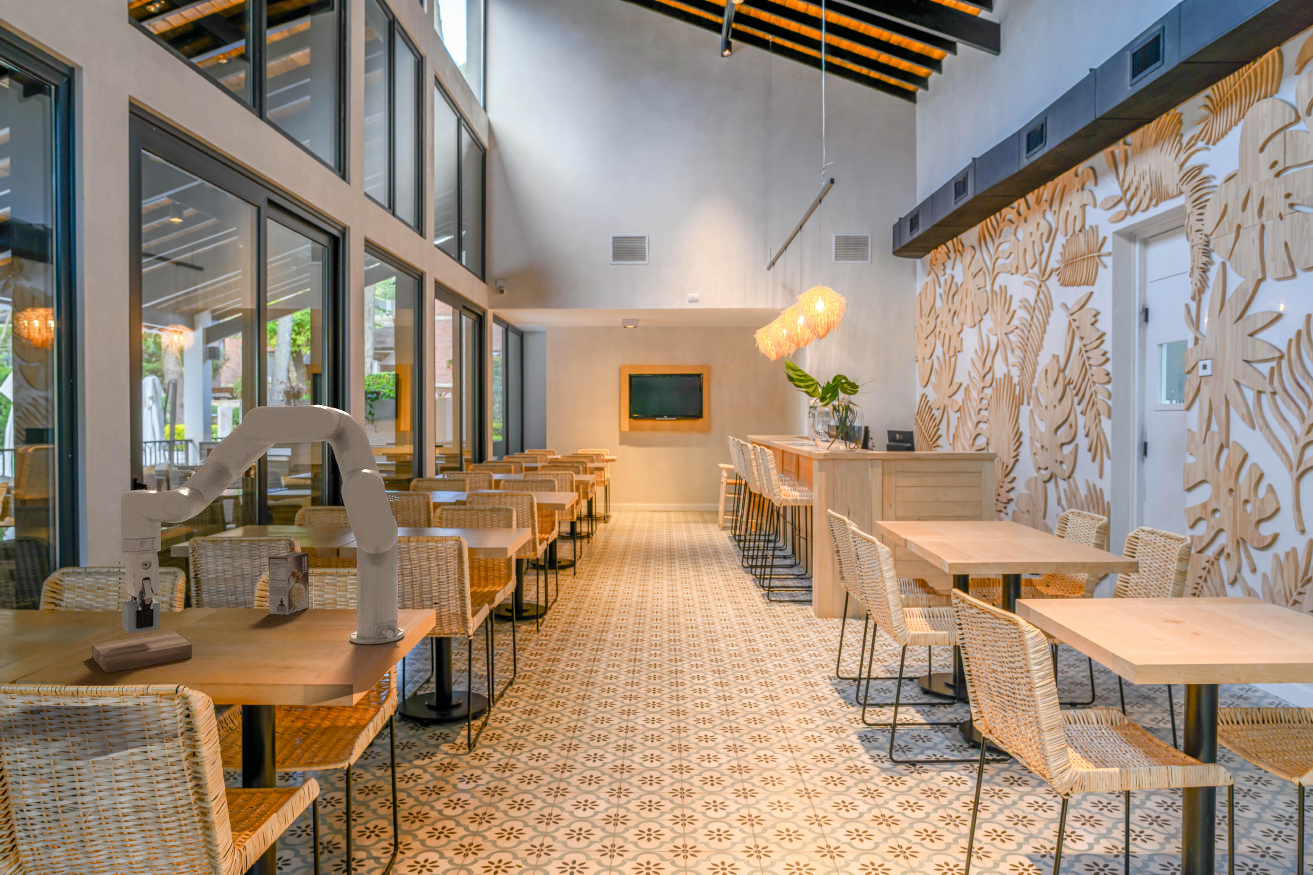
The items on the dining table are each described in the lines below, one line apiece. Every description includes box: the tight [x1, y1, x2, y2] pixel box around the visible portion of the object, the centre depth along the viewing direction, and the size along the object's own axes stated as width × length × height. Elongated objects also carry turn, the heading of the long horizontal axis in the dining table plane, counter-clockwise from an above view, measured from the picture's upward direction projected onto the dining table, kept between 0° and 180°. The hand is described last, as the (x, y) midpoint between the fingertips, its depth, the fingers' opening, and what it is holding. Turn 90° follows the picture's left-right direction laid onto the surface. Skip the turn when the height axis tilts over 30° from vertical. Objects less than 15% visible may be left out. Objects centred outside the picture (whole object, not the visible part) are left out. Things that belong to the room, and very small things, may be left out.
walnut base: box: [91, 630, 193, 673], centre depth 175 cm, size 16×16×3 cm
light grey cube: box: [121, 597, 161, 635], centre depth 174 cm, size 6×6×6 cm
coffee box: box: [268, 551, 310, 615], centre depth 219 cm, size 9×6×16 cm
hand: (141, 623), depth 174 cm, fingers closed on light grey cube, 6 cm apart
